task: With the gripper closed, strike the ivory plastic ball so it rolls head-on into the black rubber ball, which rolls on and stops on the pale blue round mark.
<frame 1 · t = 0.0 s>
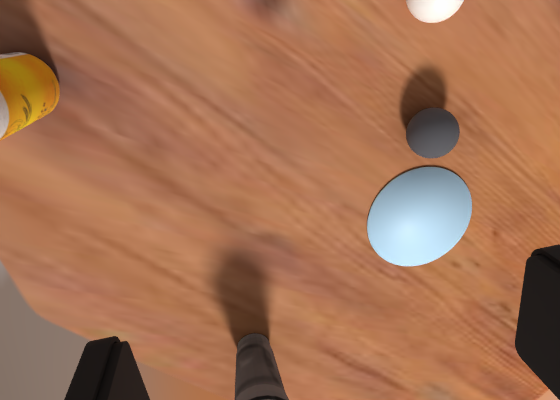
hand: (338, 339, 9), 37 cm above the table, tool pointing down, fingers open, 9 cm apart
beer can: (29, 84, 40), on the table
beverage cup: (253, 345, 57), on the table
black ball: (432, 133, 45), on the table
blue mark: (419, 218, 52), on the table
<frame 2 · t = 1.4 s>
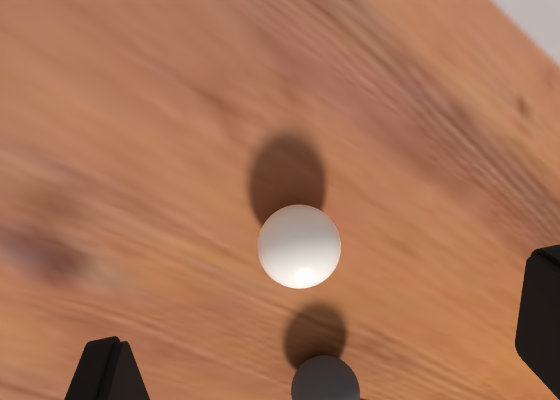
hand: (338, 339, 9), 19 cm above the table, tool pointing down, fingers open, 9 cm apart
ivory ball: (299, 246, 27), on the table
black ball: (325, 391, 33), on the table
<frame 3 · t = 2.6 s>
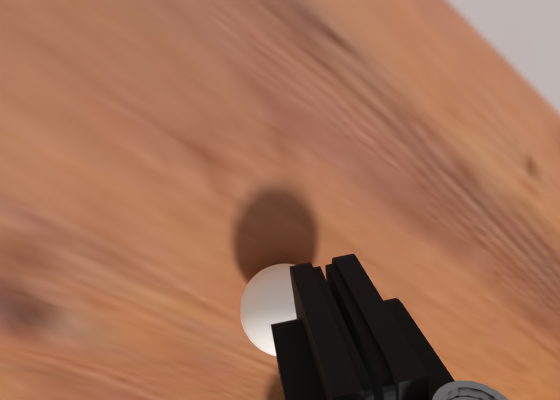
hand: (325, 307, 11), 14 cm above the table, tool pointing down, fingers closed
ivory ball: (284, 308, 25), on the table
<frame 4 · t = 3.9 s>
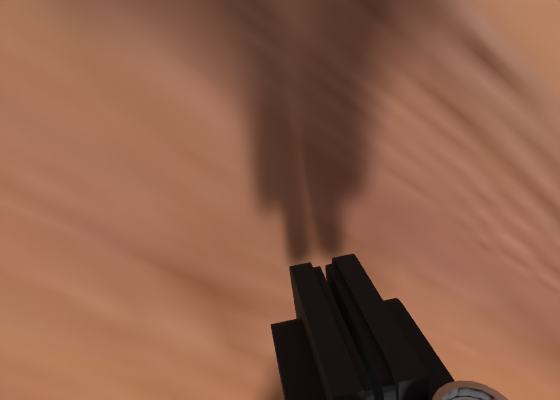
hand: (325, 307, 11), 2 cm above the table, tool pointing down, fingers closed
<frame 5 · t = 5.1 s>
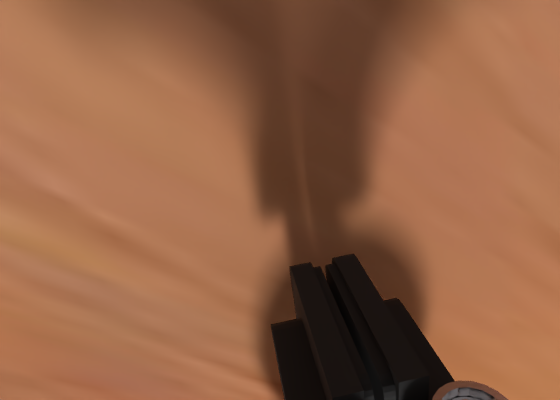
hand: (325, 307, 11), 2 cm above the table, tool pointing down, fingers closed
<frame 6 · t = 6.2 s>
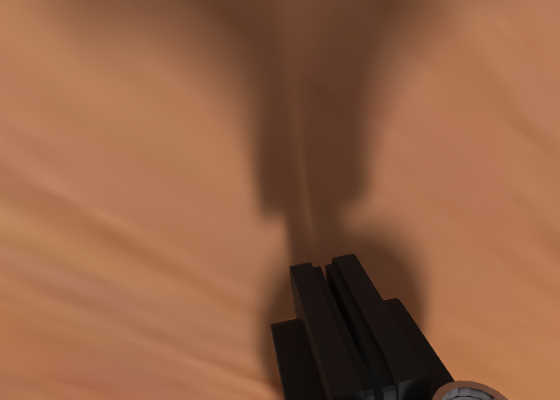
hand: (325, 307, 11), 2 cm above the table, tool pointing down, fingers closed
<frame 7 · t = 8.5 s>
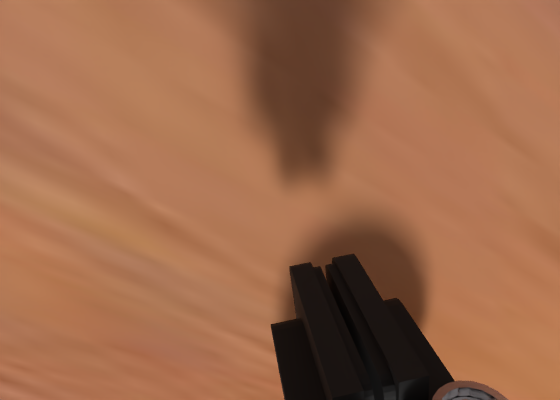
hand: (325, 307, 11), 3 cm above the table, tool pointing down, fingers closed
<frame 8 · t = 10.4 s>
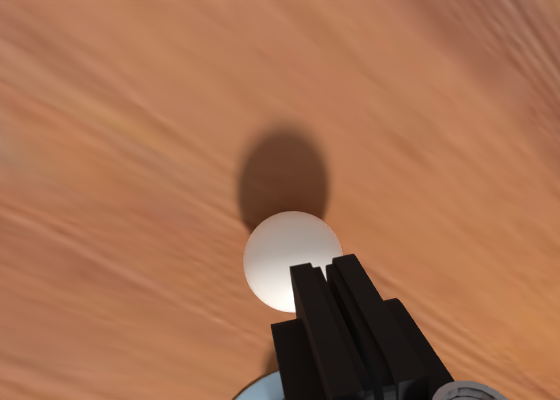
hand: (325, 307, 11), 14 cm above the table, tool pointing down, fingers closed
ivory ball: (293, 260, 23), on the table
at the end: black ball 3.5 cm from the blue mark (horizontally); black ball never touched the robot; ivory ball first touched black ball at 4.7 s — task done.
